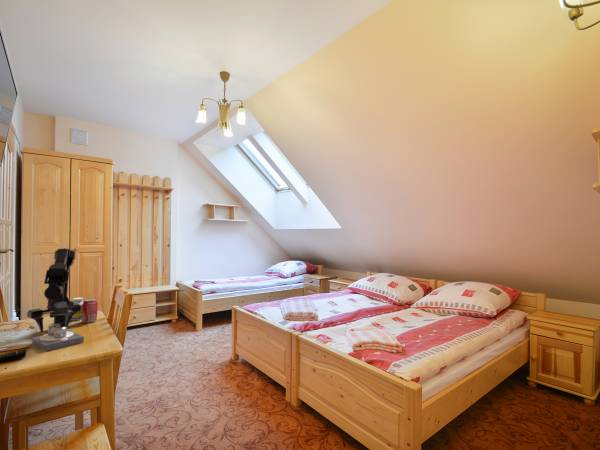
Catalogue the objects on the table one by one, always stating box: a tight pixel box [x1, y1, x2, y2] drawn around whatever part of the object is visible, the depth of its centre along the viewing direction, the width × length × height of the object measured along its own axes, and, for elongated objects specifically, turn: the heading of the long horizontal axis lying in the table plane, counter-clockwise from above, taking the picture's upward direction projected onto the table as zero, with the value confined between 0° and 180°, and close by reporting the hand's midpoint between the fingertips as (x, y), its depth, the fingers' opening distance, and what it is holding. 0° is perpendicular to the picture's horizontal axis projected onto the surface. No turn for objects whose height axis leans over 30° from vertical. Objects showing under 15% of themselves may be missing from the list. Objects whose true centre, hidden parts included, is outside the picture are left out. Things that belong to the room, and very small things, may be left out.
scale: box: [31, 329, 85, 352], centre depth 138 cm, size 15×14×3 cm
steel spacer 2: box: [54, 326, 68, 339], centre depth 137 cm, size 4×4×4 cm
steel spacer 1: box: [47, 323, 61, 336], centre depth 141 cm, size 4×4×4 cm
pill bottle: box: [70, 297, 84, 321], centre depth 175 cm, size 6×6×12 cm
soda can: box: [81, 298, 99, 324], centre depth 171 cm, size 7×7×12 cm
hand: (54, 329), depth 141 cm, fingers open, 9 cm apart
